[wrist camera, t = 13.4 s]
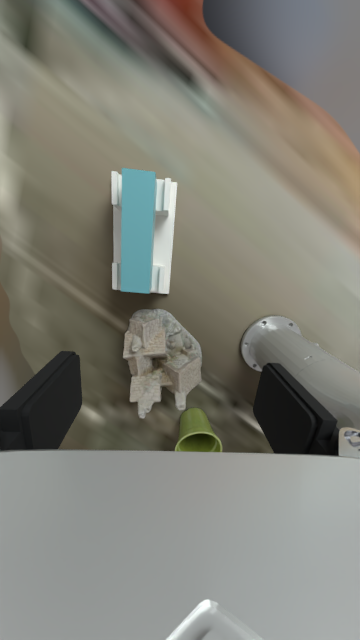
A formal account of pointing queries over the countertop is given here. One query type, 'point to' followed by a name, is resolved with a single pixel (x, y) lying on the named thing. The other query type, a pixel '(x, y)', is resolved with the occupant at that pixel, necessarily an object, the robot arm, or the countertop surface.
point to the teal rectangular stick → (137, 229)
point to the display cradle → (161, 234)
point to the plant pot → (196, 433)
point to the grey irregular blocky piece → (160, 358)
